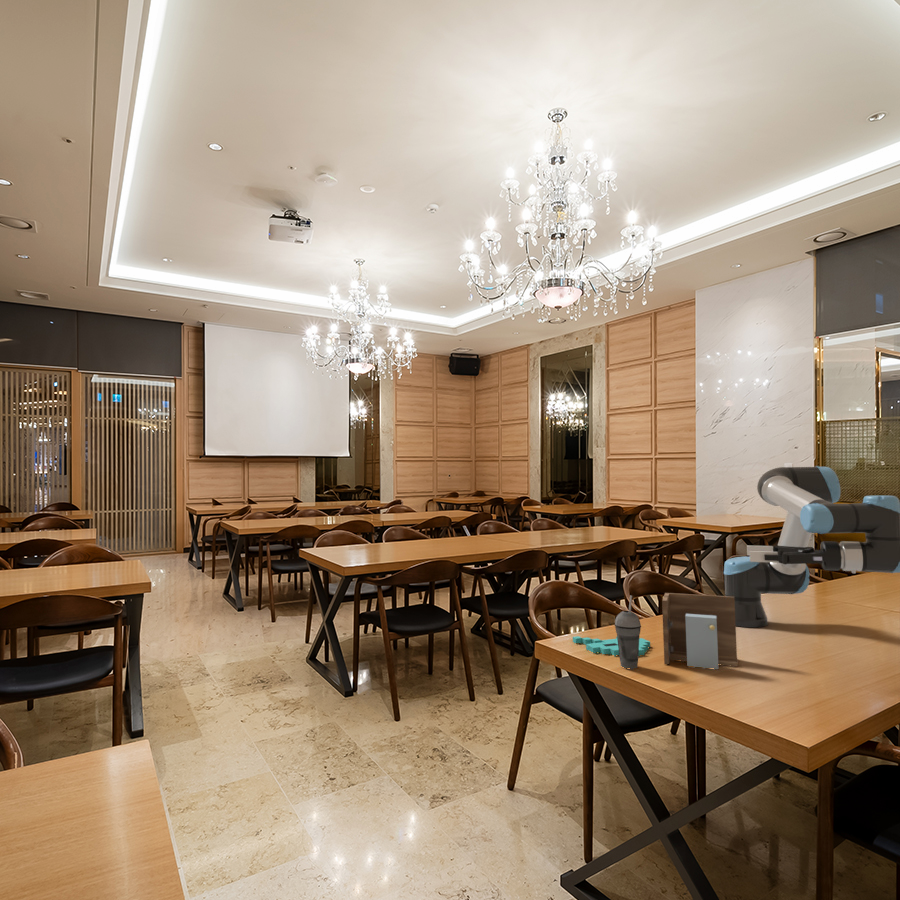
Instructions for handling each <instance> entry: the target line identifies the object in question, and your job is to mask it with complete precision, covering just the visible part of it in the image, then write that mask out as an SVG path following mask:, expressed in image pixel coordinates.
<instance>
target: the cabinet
mask: <svg viewBox="0 0 900 900" xmlns="http://www.w3.org/2000/svg"><path fill="white" fill-rule="evenodd" d="M661 605H662V606H661V609H662V612H661V613H662V633H663V634H662V635H663V660H664V663H663V664H669V665H670V662H671V661H674V660H681V661H680V662H684V661H687V645H686V619H685V616H686V614H699V615H713V616H716V619H717V643H718V664H721V665H720V666H723V665H731V666H730V667H733V666H738V667H739V664H738V662H739V661H738V651H737V650H738V649H737V626H736V624H735V600H734V597H730V596H724V595H713V594H711V595H710V594H709V595H707V594H695V593H694V594H691V593H690V594H689V593H675V592H664V595H663V598H662V601H661Z"/></svg>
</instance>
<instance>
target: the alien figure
mask: <svg viewBox="0 0 900 900" xmlns="http://www.w3.org/2000/svg"><path fill="white" fill-rule="evenodd" d="M573 642H574V643H573ZM572 643H573V644H575V643H581V644H582V643H583V644H582V645H584V644H585V645H584V646H585V650H586V649H587V650H586V651H588V650H589V651H591V652H593V653H595V654H597V653H596V652H600V653H599V654H601V653H602V654H601V655H603V654H608V655H611V654H612V655H614V656H613V657H617V656H616V655H619V648H618V640H617V636H615V638H612V639H611V638H609V639H599V638H591V637H582V636H572ZM648 647H650V648H651V641H649V640H647V639H645V638H643V637H639V653H638V657H641V656H640V655H644V656H645V654H646V653H647V651H649V648H648ZM589 651H588V652H589ZM591 652H590V653H591ZM645 652H646V653H645ZM593 653H592V654H593ZM612 655H611V656H612Z"/></svg>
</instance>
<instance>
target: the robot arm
mask: <svg viewBox="0 0 900 900" xmlns="http://www.w3.org/2000/svg"><path fill="white" fill-rule="evenodd" d="M756 487H757V488H756V490H757V493H758V495H759V497H760V498H761V499H762V500H763V501H764V502H766V503H767V504H769V505H770V506H771V505H772V506H774V507H780V508H782V509H784V510H785V511H787V512H786V516H785V518H784V519H785V520H784V522H783V525H782V526H783V527H782V529H781V532H780V537H779V539H778V543H777V544H776V545H746V555H747V556H737V557H731V558H728V559H727V560H726V561H724V566H723V575H724V595H725V596H730V597H734V600H735V624H736V627H740V626H741V627H742V628H762V627H767V626H768V624H769V623H768V622H769V621H768V616H767V614H766V611H765V608H764V607H763V603H762V594H763V595H764V594H765V595H766V594H771V595H772V594H773V595H797V594H802V593H804V592H805V591H806V590H807V589H808V587H809V584H810V574H811V573H810V569H809V566H808V564H811V565H812V564H813V565H814V564H815V565H816V564H819V565H821V568H822V569H823V570H824V571H836V572H837V571H840V570H842V571H843V572H844V571H845V572H851V573H852V574H856V573H857V572H865V573H866V572H867V573H868V572H870V573H885V574H886V573H888V574H896V573H900V499H899V498H898V497H897V496H895V495H865V496H864V497H863V499H862V502H856V503H855V502H853V503H837V502H839V500H840V498H841V484H840V481H839V477H838V475H837V473H836V472H835V471H834V470H833V468H831V467H829V466H818V465H815V466H787V467H785V466H784V467H783V466H781V467H775V468H772V469H769V470H768V471H766V472H765V473H763V474H762V475H761V476H760V478H759V479H758V482H757V486H756ZM813 533H814V534H816V533H817V534H820V535H823V534H824V535H826V534H848V533H849V534H855V533H856V534H865V541H850V540H849V541H845V540H841V541H840V542H838V541H837V540H835V541H831V540H830V541H827V540H826V541H825V540H823V541H821V542H820V545H819V549H815V547H812V546H809V544H810V541H811V538H812V535H813ZM741 627H740V628H741Z"/></svg>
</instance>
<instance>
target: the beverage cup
mask: <svg viewBox="0 0 900 900" xmlns="http://www.w3.org/2000/svg"><path fill="white" fill-rule="evenodd" d="M632 599H633V595H629V605H628V610H622V611H620V613H618V614H617V615H616V617H615V620H614V628H615V632H616V637H617V640H618V648H619V656H618V657H619V662H620V667H621V666H622V667H624V668H630V669H629V670H635V669H634V668H637V669H638V663H639V656H638V653H639V638H640V634H641V629H642V625H641V620H640V619H639V616H638V615H637V614H636V613H635V612H633V611H632ZM622 667H621V668H622ZM624 668H623V669H624Z"/></svg>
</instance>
